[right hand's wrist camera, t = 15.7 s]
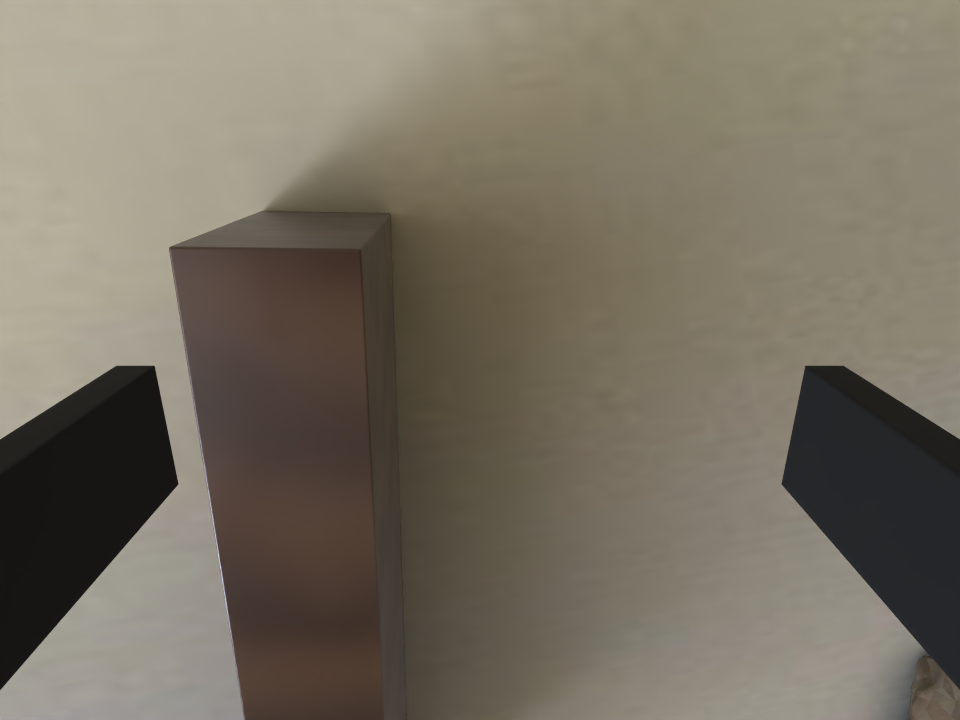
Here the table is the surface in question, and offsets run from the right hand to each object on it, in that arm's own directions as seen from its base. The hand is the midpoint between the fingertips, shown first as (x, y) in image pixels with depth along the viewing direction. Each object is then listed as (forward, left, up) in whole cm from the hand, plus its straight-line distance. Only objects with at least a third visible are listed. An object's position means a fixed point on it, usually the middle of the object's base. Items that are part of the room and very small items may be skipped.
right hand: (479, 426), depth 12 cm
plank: (+6, +13, -13) cm, 19 cm away
